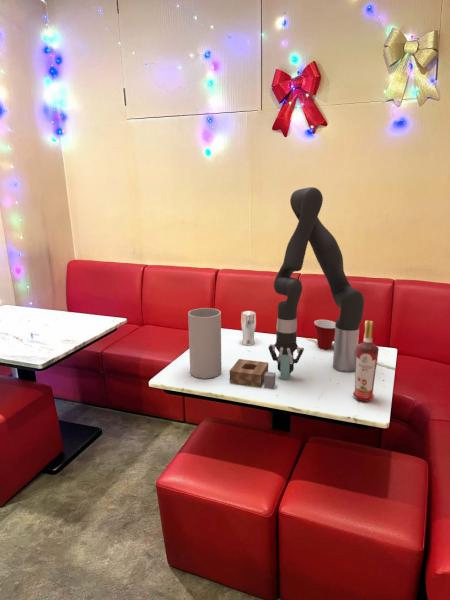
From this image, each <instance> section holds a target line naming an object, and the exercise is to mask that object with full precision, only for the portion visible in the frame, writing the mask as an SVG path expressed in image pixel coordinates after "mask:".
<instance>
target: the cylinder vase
mask: <svg viewBox="0 0 450 600" xmlns="http://www.w3.org/2000/svg"><path fill="white" fill-rule="evenodd" d="M221 314H222V312H221V310H219V309H216V308H213V307H211V308H210V307H203V308H202V307H200V308H195V309H191V310H189V311H188V314H187V315H188V316H187V317H188V318H187V319H188V350H189V373H190V374H191V376H193V377H195V378H197V379H204V380H206V379H212V378H217V377H218V376H219V375H221V373H222V315H221Z"/></svg>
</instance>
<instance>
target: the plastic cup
mask: <svg viewBox="0 0 450 600" xmlns="http://www.w3.org/2000/svg"><path fill="white" fill-rule="evenodd" d="M313 322H314V328H315V334H316V341H317V348H318V349H319V348H320V350H322V349H324V350H325V351H327V350H328V349H329V350H331V349H332V346H333V343H334V339H335V323H336V321H333V320H328V319H317V320H314V321H313ZM329 350H328V351H329Z"/></svg>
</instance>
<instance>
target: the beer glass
mask: <svg viewBox="0 0 450 600" xmlns="http://www.w3.org/2000/svg"><path fill="white" fill-rule="evenodd" d="M240 317H241V318H240V326H241V333H242V341H241V344H242V345H244V346H253V345H255V343H256V340H255V332H256V327H257V313H256V312H255V311H254V310H244V311H241V315H240Z"/></svg>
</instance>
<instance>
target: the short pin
mask: <svg viewBox="0 0 450 600" xmlns="http://www.w3.org/2000/svg"><path fill="white" fill-rule="evenodd" d="M263 385H264V387H263V388H264V389H270V390H274V388H275V387H276V372H271V371H268V372H266V373H265V375H264V382H263Z"/></svg>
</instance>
